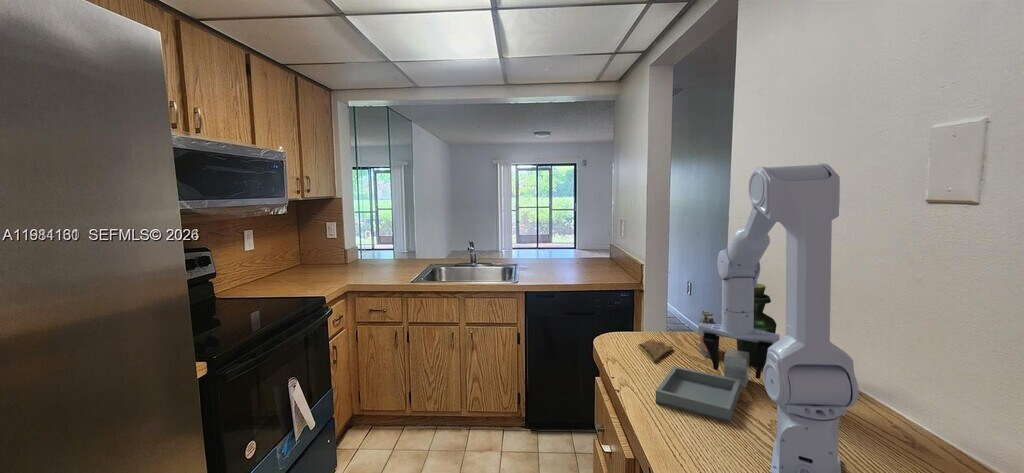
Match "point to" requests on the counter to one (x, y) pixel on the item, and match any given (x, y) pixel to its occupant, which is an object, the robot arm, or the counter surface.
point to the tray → (699, 393)
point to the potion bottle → (758, 324)
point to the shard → (654, 349)
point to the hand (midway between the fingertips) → (736, 372)
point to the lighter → (703, 349)
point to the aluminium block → (737, 366)
